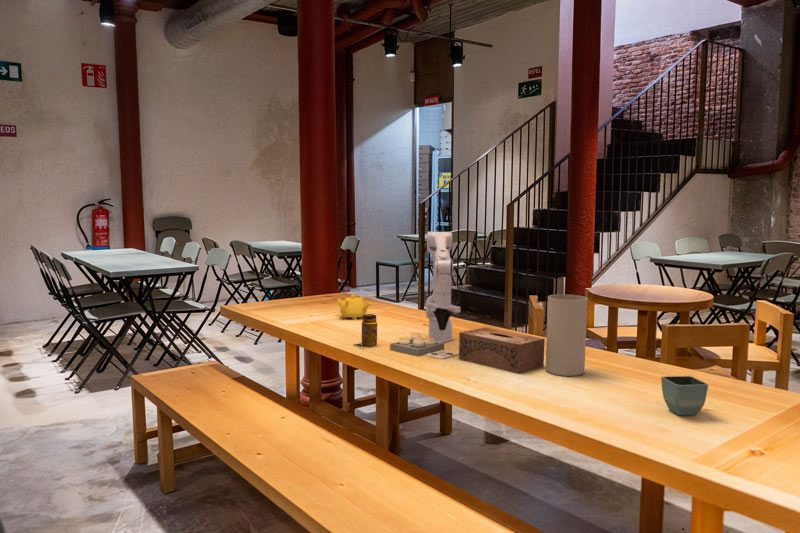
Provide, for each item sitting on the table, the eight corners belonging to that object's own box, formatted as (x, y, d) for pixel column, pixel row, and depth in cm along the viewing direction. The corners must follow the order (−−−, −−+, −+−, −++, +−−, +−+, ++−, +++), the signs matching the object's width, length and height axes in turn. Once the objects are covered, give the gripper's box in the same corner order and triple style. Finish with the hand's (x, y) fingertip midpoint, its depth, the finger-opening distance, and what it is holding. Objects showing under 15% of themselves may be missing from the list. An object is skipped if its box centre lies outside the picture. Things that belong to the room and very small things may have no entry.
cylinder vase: (537, 369, 214) (540, 295, 211) (568, 365, 219) (570, 293, 216) (561, 378, 202) (564, 300, 200) (592, 374, 207) (595, 298, 205)
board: (416, 343, 250) (416, 337, 250) (444, 349, 241) (444, 343, 240) (390, 349, 239) (390, 343, 239) (418, 356, 230) (418, 349, 229)
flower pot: (658, 408, 174) (660, 375, 173) (689, 407, 175) (691, 375, 174) (675, 418, 165) (676, 385, 164) (707, 418, 166) (709, 384, 165)
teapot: (381, 317, 307) (381, 294, 306) (359, 323, 292) (359, 299, 291) (347, 313, 318) (348, 291, 317) (325, 318, 303) (325, 295, 302)
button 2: (415, 339, 247) (415, 332, 247) (423, 341, 244) (423, 333, 244) (408, 341, 244) (408, 333, 244) (416, 342, 241) (416, 335, 241)
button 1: (404, 344, 242) (404, 337, 242) (412, 346, 240) (412, 338, 239) (397, 346, 239) (397, 338, 239) (404, 348, 237) (405, 340, 236)
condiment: (381, 346, 245) (381, 315, 244) (362, 348, 241) (362, 317, 240) (371, 342, 251) (371, 312, 250) (353, 345, 247) (353, 314, 246)
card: (442, 351, 238) (442, 349, 238) (459, 354, 233) (459, 353, 233) (424, 355, 231) (424, 354, 231) (442, 359, 225) (442, 357, 225)
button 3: (418, 345, 238) (418, 337, 237) (426, 346, 235) (426, 338, 235) (411, 346, 235) (411, 338, 234) (419, 348, 232) (419, 340, 232)
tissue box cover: (458, 360, 226) (459, 332, 225) (484, 353, 236) (485, 327, 235) (518, 374, 207) (519, 344, 206) (543, 367, 217) (544, 338, 216)
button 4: (429, 345, 242) (429, 337, 242) (437, 346, 240) (437, 338, 239) (422, 346, 240) (422, 338, 239) (430, 348, 237) (430, 340, 237)
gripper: (420, 291, 231) (420, 328, 233) (452, 295, 222) (451, 334, 223) (433, 289, 237) (432, 325, 238) (464, 293, 227) (463, 331, 228)
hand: (442, 329), depth 231 cm, fingers closed
